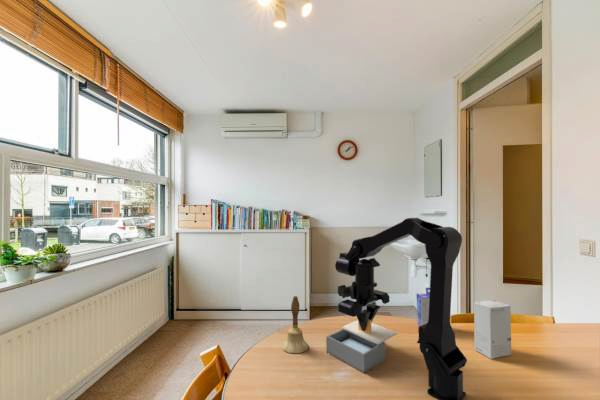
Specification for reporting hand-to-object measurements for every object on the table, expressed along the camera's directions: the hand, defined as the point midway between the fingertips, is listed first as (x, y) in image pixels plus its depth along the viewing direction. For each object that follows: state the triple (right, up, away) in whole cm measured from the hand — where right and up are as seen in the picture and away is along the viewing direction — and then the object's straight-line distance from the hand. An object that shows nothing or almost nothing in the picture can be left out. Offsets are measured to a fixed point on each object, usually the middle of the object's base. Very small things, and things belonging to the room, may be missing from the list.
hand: (364, 329), depth 88 cm
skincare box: (+38, -6, -2) cm, 39 cm away
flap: (+2, -1, +1) cm, 2 cm away
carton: (-4, -6, -3) cm, 8 cm away
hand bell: (-22, -7, +3) cm, 23 cm away
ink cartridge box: (+28, -7, +14) cm, 32 cm away
